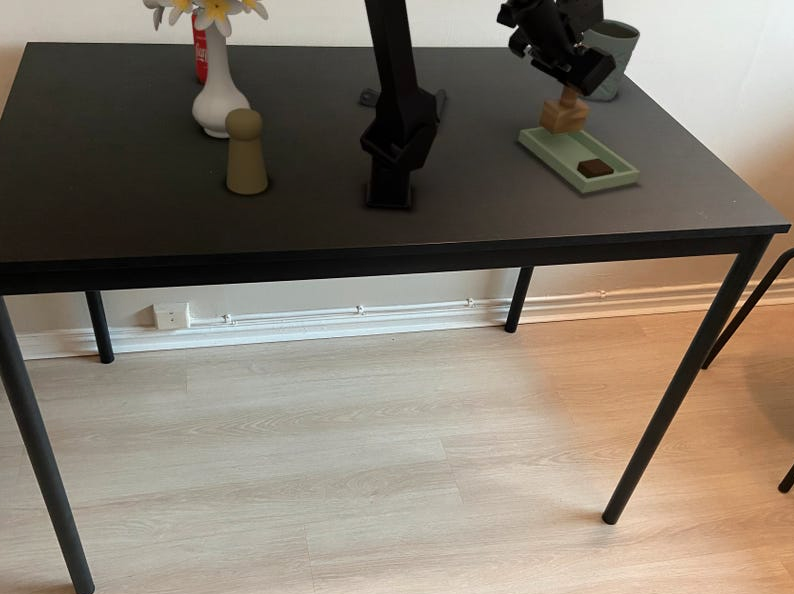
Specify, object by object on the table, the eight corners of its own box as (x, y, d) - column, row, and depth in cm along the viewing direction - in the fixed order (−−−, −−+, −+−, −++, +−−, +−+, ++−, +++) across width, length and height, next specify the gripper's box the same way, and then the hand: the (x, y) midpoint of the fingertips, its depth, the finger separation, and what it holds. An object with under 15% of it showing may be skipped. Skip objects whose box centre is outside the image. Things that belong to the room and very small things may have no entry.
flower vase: (159, 117, 119) (134, -50, 102) (268, 110, 123) (262, -51, 106) (164, 154, 110) (139, -22, 93) (282, 145, 114) (278, -24, 97)
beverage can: (232, 79, 132) (227, 11, 123) (213, 88, 128) (207, 18, 120) (210, 72, 133) (204, 4, 125) (191, 80, 130) (184, 11, 122)
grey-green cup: (564, 79, 142) (580, 16, 134) (614, 83, 142) (633, 20, 134) (573, 101, 135) (590, 35, 126) (625, 105, 135) (646, 40, 127)
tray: (635, 185, 112) (640, 171, 111) (581, 196, 109) (585, 182, 107) (568, 134, 124) (571, 121, 122) (517, 143, 120) (520, 129, 119)
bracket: (367, 87, 133) (368, 72, 131) (445, 98, 132) (447, 83, 130) (352, 120, 123) (352, 104, 121) (436, 132, 121) (438, 117, 120)
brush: (552, 135, 115) (575, 54, 106) (537, 123, 118) (559, 43, 108) (583, 130, 117) (608, 51, 108) (568, 118, 120) (591, 40, 110)
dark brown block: (611, 178, 112) (614, 169, 111) (591, 182, 111) (594, 173, 110) (596, 166, 115) (598, 157, 114) (576, 170, 114) (578, 161, 112)
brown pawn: (250, 198, 102) (246, 126, 95) (218, 185, 104) (211, 113, 97) (276, 182, 106) (274, 111, 98) (244, 169, 108) (240, 99, 100)
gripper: (628, -5, 94) (659, 68, 106) (540, -44, 105) (577, 26, 117) (566, 62, 96) (603, 127, 108) (487, 17, 108) (528, 79, 120)
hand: (578, 87), depth 113 cm, fingers closed on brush, 2 cm apart
